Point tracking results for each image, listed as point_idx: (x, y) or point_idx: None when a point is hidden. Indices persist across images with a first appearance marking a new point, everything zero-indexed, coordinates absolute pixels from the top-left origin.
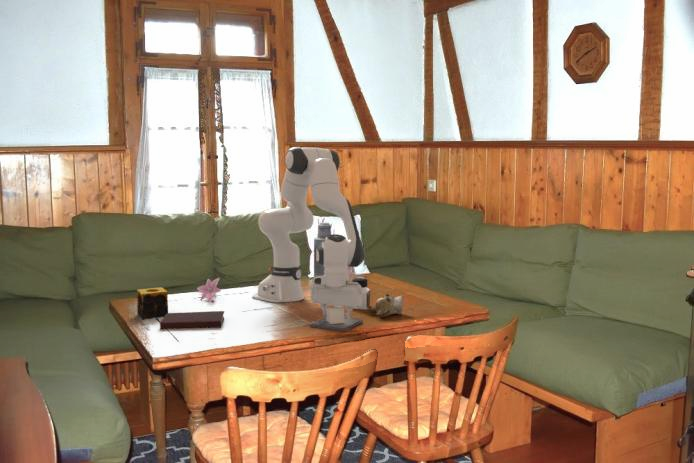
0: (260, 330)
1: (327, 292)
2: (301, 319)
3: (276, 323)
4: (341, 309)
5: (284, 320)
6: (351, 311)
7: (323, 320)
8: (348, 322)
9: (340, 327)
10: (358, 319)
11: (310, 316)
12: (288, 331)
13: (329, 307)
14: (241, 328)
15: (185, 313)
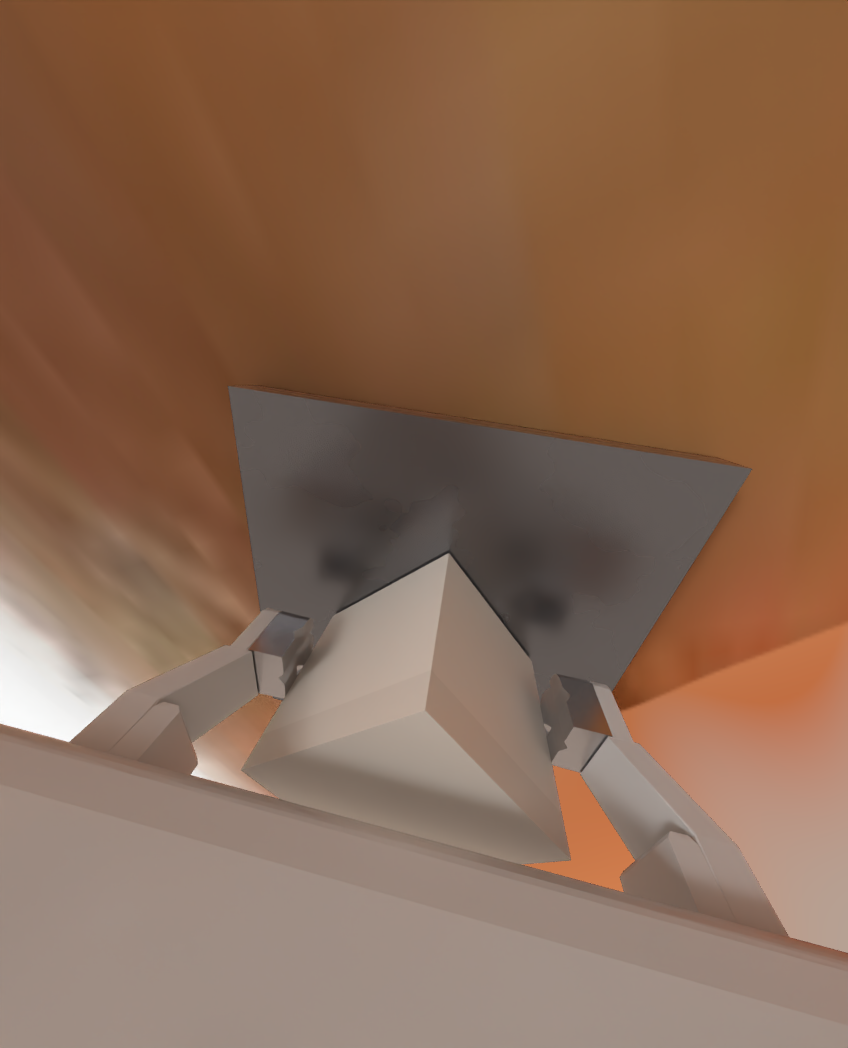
0: None
1: None
2: (87, 516)
3: (67, 643)
4: (524, 855)
5: (31, 574)
6: (676, 784)
7: (306, 613)
8: (566, 630)
9: None
10: (684, 488)
11: (46, 379)
12: (244, 752)
13: (312, 803)
14: (43, 732)
15: None
